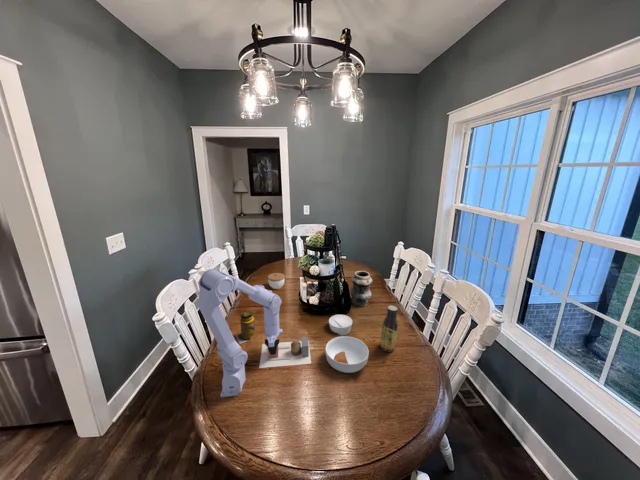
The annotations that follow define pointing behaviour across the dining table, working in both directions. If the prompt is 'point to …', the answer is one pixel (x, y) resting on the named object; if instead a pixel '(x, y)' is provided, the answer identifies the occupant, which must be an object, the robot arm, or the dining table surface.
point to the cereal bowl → (347, 353)
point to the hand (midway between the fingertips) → (273, 350)
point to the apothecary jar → (361, 288)
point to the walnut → (295, 348)
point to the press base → (286, 355)
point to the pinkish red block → (273, 355)
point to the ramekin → (340, 324)
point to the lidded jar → (276, 280)
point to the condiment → (246, 327)
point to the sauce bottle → (389, 330)
